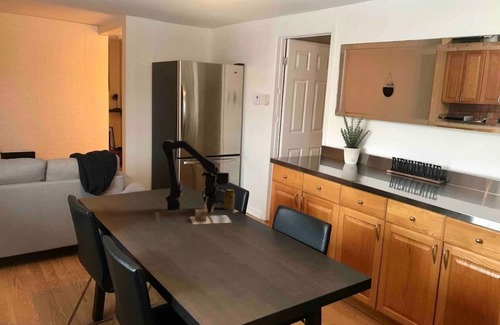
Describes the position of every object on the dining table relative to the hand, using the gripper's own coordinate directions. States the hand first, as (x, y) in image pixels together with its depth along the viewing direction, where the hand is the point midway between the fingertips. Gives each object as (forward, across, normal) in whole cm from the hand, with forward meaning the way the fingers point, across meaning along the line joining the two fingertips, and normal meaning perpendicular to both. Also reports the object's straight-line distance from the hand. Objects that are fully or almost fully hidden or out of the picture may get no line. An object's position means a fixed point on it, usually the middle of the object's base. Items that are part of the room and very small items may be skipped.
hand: (208, 211), depth 218 cm
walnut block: (0, -14, +7) cm, 16 cm away
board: (+1, -14, +2) cm, 14 cm away
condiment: (+2, +4, -13) cm, 14 cm away
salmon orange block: (+1, 0, 0) cm, 1 cm away
